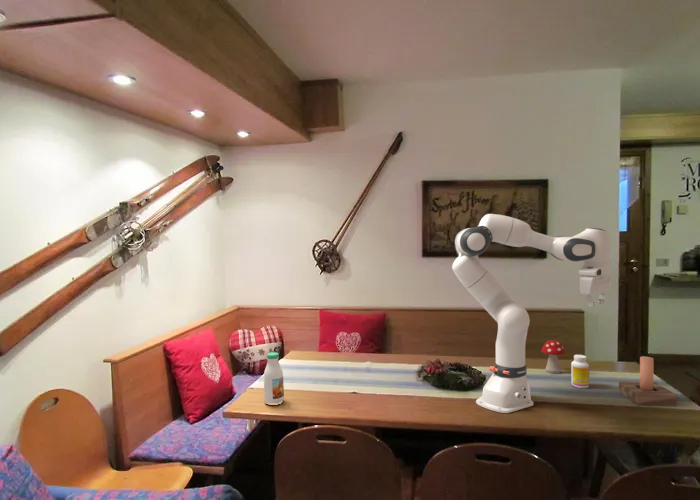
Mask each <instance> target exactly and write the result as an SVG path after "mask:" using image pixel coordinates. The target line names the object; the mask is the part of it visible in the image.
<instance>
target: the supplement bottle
mask: <svg viewBox="0 0 700 500" xmlns="http://www.w3.org/2000/svg"><path fill="white" fill-rule="evenodd" d="M570 368H571V370H570V371H571V372H570V376H571V379H570V380H571V382H570V383H571V385H572V386H573V388H574V387H575V388H578V389H587V388H589V387H590V369H589V368H590V365H589V363H588V362H587V356H586V355H583V354H574V355H573V361H571V365H570Z"/></svg>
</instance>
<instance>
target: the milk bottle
mask: <svg viewBox="0 0 700 500" xmlns="http://www.w3.org/2000/svg"><path fill="white" fill-rule="evenodd" d="M279 355H280V354H279V352H272V351H271V352H269V353H267V354H266V360H267V363H266V366H265V369H264V372H263V388H264V389H263V391H264V392H263V394H264V396H263V397H264V403H265V402H266V403H279V402H281V401H283V400H284V401H285V391H284V387H285V385H284V373H283V369H282V367H281V365H280V361H279V359H280V356H279Z"/></svg>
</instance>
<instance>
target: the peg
mask: <svg viewBox="0 0 700 500" xmlns="http://www.w3.org/2000/svg"><path fill="white" fill-rule="evenodd" d="M654 359H655V358H653V357H651V356H644V355H642V356H640V357H639V382H640V389H641V390H642V391H653V382H654V368H655V367H654Z"/></svg>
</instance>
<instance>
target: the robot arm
mask: <svg viewBox="0 0 700 500" xmlns="http://www.w3.org/2000/svg"><path fill="white" fill-rule="evenodd" d="M609 237H610V236H609V233H608V231H606V230H605V229H602V228H599V227H597V228H596V227H595V228H594V227H587V228H585V229H584V230H583V231H581V232H579V233H577V234H575V235H573V236H568V235H567V236H566V235H559V236H551V235H547V234H544V233H540V232H537V231H534V230H533V229H532V228H531V225H530V224H529V223H527V222H525V221H523V220H521V219H519V218H516V217H515V218H514V217H511V216H507V215H504V214H498V213H497V214H495V213H486V214H485V215H484V216H483V217H482V218H481V219H480V221H479V223H478V225H477V226H474V227H467V228H464V229H461V230H460V231H459V232H458V233H456V235H455V237H454V238H453V239H454V240H453V241H454V242H453V243H454V244H453V245H454V249H455V253H456V258H455V260H454V261H453V263H452V266H451V269H452V271H453V273H454V275H455V276H456V278H457V279H458V281H459V282H460V283H461V284H462V286H463V287H464V288H465V289H466V291H468V293H470V295H471V296H472V297H473V298H474V299H475V300H476V301H477V302H478V303H479V304H480V306H482V308H483V309H484V310H485V311H486V312H487V313H488V314H489V316H491V318H492V319H494V321H495V322H496V323H497V335H496V339H495V362H494V363H493V364H494V365H493V366H492V365H490V366H489V372H492V374H491V376H490V377H489V379H488V380H487V382H486V383H485V384H484V386H483V388H482V395H481V396H480V397H478V398H477V399H476V400H475V404H477V405H478V406H479V407H482V408H484V409H487V410H490V411H492V412H497V413H502V414H509V413H513V412H516V411H519V410H520V411H521V410H523V409H526V408H529V407H532V406H534V401H533V400H532V399H531V388H530V382H529V380H528V378H527V376H526V375H527V372H528V368H527V364H526V341H527V336H528V331H529V327H530V321H531V320H530V315H529V313H528V311H527V310H526V308H524V307H523V306H522V305H520V304H519V303H518V302H517V301H515V300H514V298H513V297H512V296H511V295H510V294H509V292H507V290H506V289H505V288H504V287H503V285H502V284H501V283H500V282H499V281H498V280H497V279H496V278H495V277H494V276H493V274H492V273H491V272H490V271H489V270H488V269H487V268H486V267H485V266H484V265H483V264H482V263H481V261H480V259H479V258H480V257H479V256H480V255H481V254H484V252H485V251H486V250H487V249H488V247H489V246H490V244H491V242H492V243H493V242H494V243H498V244H500V245H505V246H510V247H516V248H522V247H531V248H534V249H537V250H540V251H541V250H542V251H543V252H547V253H549V254H550V255H551V256H552V258H553V257H554V258H555V259H557V260H559V261H565V262H573V263H575V262H581V261H583V265H582V267H581V268H579V270H578V276H579V292H580V295H582V296H584V297H585V299H586V301H587V306H588V307H591V308H592V307H595V301H594V296H595V295H599V297H598V300H597V302H598V304H604V303H605V298H606V296H607V292H610V291H611V290H612V277H611V273H610V271H611V270H610V266H611V265H610V258H609V255H610V252H611V251H610V250H611V247H610V238H609Z"/></svg>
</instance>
